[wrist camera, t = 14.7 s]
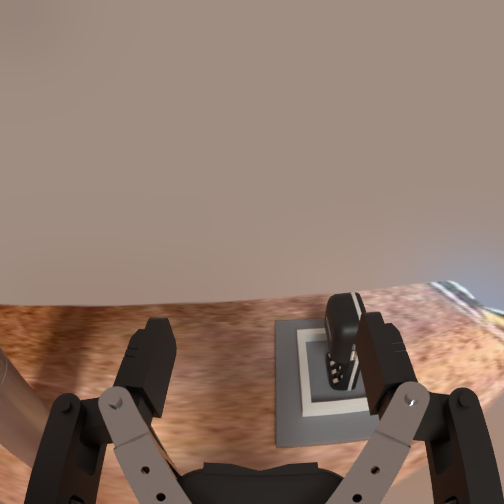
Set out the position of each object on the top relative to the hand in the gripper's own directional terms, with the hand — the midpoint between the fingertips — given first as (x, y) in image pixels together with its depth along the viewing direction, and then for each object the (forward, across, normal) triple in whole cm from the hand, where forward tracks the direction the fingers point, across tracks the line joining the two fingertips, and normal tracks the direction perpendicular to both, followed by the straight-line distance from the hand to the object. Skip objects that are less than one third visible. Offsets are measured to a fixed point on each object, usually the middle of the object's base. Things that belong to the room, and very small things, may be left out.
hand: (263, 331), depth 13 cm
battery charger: (+15, -8, +24) cm, 30 cm away
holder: (+15, -8, +26) cm, 31 cm away
